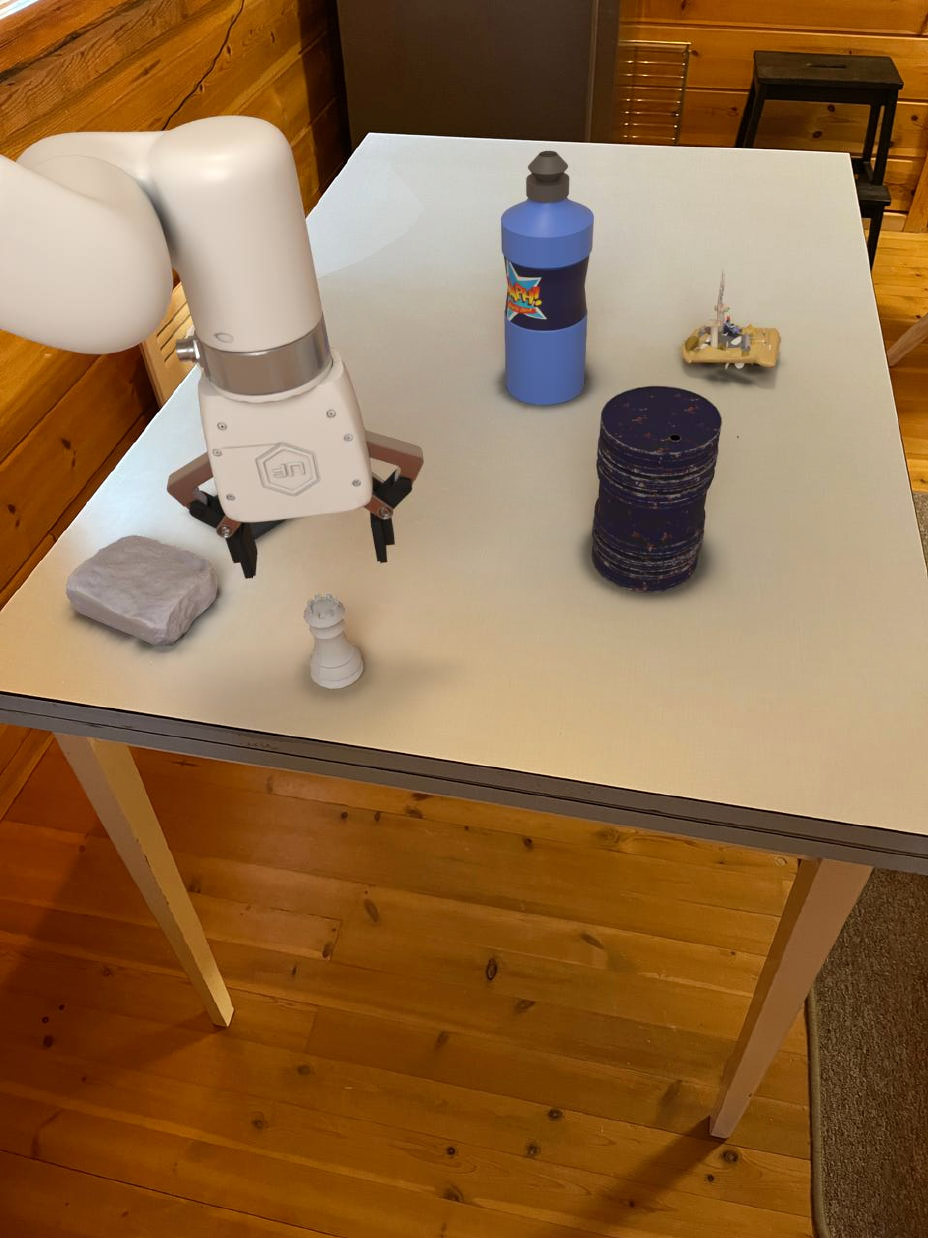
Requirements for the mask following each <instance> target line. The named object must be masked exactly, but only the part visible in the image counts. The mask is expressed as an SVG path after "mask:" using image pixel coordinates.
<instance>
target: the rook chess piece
mask: <svg viewBox="0 0 928 1238" xmlns="http://www.w3.org/2000/svg"><path fill="white" fill-rule="evenodd" d="M345 615H346V607H345V605H344V603H343V602H341V601H340V600H339V599H338V597H337V596H335V597H334V596H333V593H331V592H326V594H325V596H322V594H321V592H319V593H316V594H314V599H312V598H309V599H308V600H307V601H306V608H305V609H304V611H303V619H304V621H305V623H306V624H307V625H309V631H310V634H311V635H312V636H313V638H314V640H313V641H314V648H313V649H312V653H311V654H310V657H309V666H308V667H309V669H310V673H309V675H310V676H311V679H312V681H313V682H314V683H316V684H317V685H318V686H320V687H323V688H325V689H330V690H341V689H344V688H347V687H350V686H351V685H352V684H353V683H354V682H356V681H357V680H358V679H359V678H360V676H361V675H362V673H363V671H364V660H363V659H362V654H361V652H360V650H359V649H358V647H357V646H356V645H355V644H354V643H353V642H352V641H351V640H349V639H348V637H347V634H346V632H345V628H346V622H345V620H344V616H345Z"/></svg>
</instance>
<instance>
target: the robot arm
mask: <svg viewBox="0 0 928 1238" xmlns="http://www.w3.org/2000/svg"><path fill="white" fill-rule="evenodd" d="M309 235H310V234H309V230H308V226H307V220H306V215H305V209H304V205H303V198H302V194H301V188H300V182H299V178H298V172H297V166H296V163H295V158H294V154H293V150H292V147H291V144H290V143H289V141H288V140H287V138H286V136H285V133H283V132H282V131H281V130H280V128H278V127H277V126H275V125H274V124H273V123H271V122H269V121H267V120H265V119H262V118H259V117H254V116H246V115H245V116H244V115H219V116H211V117H206V118H200V119H196V120H192V121H189V122H186V123H183V124H181V125H179V126H175V127H174V128H172V129H170V130H157V131H156V130H154V131H76V132H64V133H60V134H56V135H50V136H47V137H43V138H41V140H38V141H37V142H34V143H33V144H31V145H29V147H27V148H26V149H25V150H24V151H23V152H22V153H21V154H20V156H19V157H18V158H16V160H15V161H14V160H13V159H10V158H8V157H7V156H4V154H3V155H2V154H1V153H0V330H1V331H3V332H6V333H10V334H12V335H14V336H17V337H20V338H23V339H25V340H28V341H31V342H34V343H37V344H40V345H43V346H47V347H50V348H54V349H57V350H61V351H65V352H73V353H78V354H83V355H108V354H112V353H113V354H115V353H120V352H123V351H126V350H128V349H131V348H134V347H136V346H138V345H140V344H141V343H143V342H144V341H147V340H148V339H149V338H150V337H151V336H152V335H153V334H154V333H155V332H156V331H157V330H158V328H159V327H160V325H161V324H162V322H163V321H164V320H165V318H166V316H167V314H168V311H169V308H170V305H171V303H172V298H173V291H174V275H173V271H175V272H176V273H177V275H178V277H179V281H180V284H181V287H182V290H183V295H184V298H185V301H186V305H187V307H188V311H189V314H190V317H191V321H192V325H193V324H194V328H195V330H194V334H193V335H192V336H188V338H187V339H185V338H178V339H176V340H175V351H176V352H175V353H176V356H177V359H178V361H179V362H180V363H187V362H191V363H193V364H195V363H199V365H200V366H201V368H203V369H204V370H203V372H202V373H201V375H200V378H199V380H198V384H197V393H198V394H197V395H198V406H199V412H200V413H199V414H200V420H201V426H202V432H203V436H204V441H205V447H206V451H205V452H204V453H202V454H201V455H199V456H197V457H196V458H195V459H192V460H191V461H190V462H188V463H186V464H184V465H183V466H182V467H180V468H178V469H177V470H175V471H174V472H172V473H171V474H169V476H168V479H167V484H166V485H167V486H166V491H167V493H168V494H169V495H170V496H171V497H172V498H173V499H174V500H175V501H177V502H178V503H179V504H180V505H181V506H182V507H184V508H186V509H187V510H188V513H189V515H190V517H192V518H194V519H195V520H198V521H199V522H201V523H203V524H206V525H208V526H210V527H211V528H213V529H215V532H216V535H217V536H219V537H221V538H224V539H225V542H226V545H227V549H228V552H229V554H230V557H231V560H232V562H233V564H240V566H241V569H242V573H243V576H244V578H245V579H246V580H248V579H254V577H255V576H257V565H258V564H257V563H258V547H257V544H256V541H255V540H256V539H255V540H254V537H253V533H252V530H251V527H250V523H249V522H263V521H273V520H282V519H286V520H291V519H297V518H307V517H315V516H316V517H317V516H324V515H332V514H340V513H346V512H353V511H356V510H359V509H361V508H364V509H366V510H367V511H368V512H369V519H370V521H369V522H370V530H371V533H372V539H373V545H374V550H375V556H376V562H379V563H380V564H385V563H388V551H387V546H393V545H396V541H395V540H396V539H395V532H394V530H395V529H394V524H393V517H394V510H395V509H396V508H397V507H398V506H399V505H400V503H402V502H403V501H404V499H405V498H407V497H408V496H409V494H411V492H412V490H413V485H414V482H415V481H416V480H417V478H418V476H419V474H420V472H421V469H422V467H423V465H424V462H425V460H424V451H423V448H422V447H421V446H419V445H416V444H414V443H410V442H407V441H403V440H400V439H396V438H393V437H389V436H386V435H384V434H380V433H377V432H373V431H370V430H367V429H366V428H365V424H364V419H363V416H362V412H361V407H360V404H359V401H358V398H357V397H358V396H357V394H356V391H355V388H354V385H353V382H352V379H351V376H350V374H349V371H348V369H347V366H346V364H345V362H344V360H343V357H342V355H341V352H339V351H338V350H337V349H336V348H335V347H333V346H330V342H329V336H328V332H327V326H326V321H325V315H324V311H323V305H322V299H321V296H320V289H319V283H318V277H317V273H316V268H315V262H314V258H313V252H312V247H311V241H310V236H309ZM371 459H373V460H376V461H380V462H384V463H388V464H390V465H395V466H396V467H397V468H396V469H395V470H394V471H393V472H392V473H391V474H390V475H389V476H388V477H387V478H386V479H384V478H382V477H380V476H379V475H377V473H376V472H374V471H372V462H371ZM211 479H213V481H214V485H215V489H216V493H217V495H218V497H219V499H217V498H216V497H214V496H215V495H212V494H210V493H208V492H207V491H204V490H200V486H202V485H203V484H205V483H206V482H208V481H209V480H211Z"/></svg>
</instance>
